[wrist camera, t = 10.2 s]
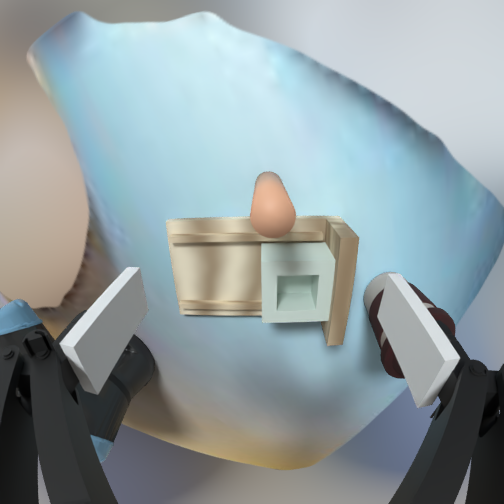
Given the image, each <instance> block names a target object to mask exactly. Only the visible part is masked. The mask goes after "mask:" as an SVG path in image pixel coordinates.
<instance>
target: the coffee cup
mask: <svg viewBox="0 0 504 504" xmlns="http://www.w3.org/2000/svg"><path fill="white" fill-rule="evenodd" d="M388 274H398V273H395V272H386V273H382V274H380V275H378V276H377V277H375V278H374V279H373V280H372V281H371V282H370V283H369V285H368V286H367V288H366V290H365V293H364V304H365V306H366V309H367V311H368V314H369V320H370V323H371V325H372V328H373V331H374V333H375V336H376V339H377V342H378V344H379V347H380V349H381V361H382V364H383V366H384V368H385V370H386V372H387V373H388V374H389V375H390V376H392V377H395V378H403V379H405V376H404V374H403V372H402V369H401V367H400V365H399V362H398V360H397V358H396V356H395V353H394V351H393V349H392V347H391V345H390V343H389V340H388V338H387V336H386V334H385V332H384V330H383V328H382V326H381V324H380V321H379V319H378V317H377V315H378V312H379V308H380V304H381V300H382V296H383V292H384V288H385V284H386V280H387V275H388ZM403 278H404V277H403ZM404 279H405V278H404ZM405 280H406V279H405ZM406 282H407V283H408V284H409V286H410V287H411V288H412V290H413V291H414V292H415V293H416V295H417V296H418V297H419V299H420V300H421V301H422V303H423V304H424V305H425V307H426V308H427V310H428V311H429V312H430V314H431V315H432V317H433V318H434V319H435V321H436V320H440V321H441V322H443V323H444V324H445V325H447V326H448V328H449V329H450V330H451V332H452V333H453V335H454V336H455V324H454V321H453V319H452V318H451V317H450V316H449V315H448V313H447V312H446V311H444V310H443V309H441V308H437V307H436V306H435V305H434V304H433V303H432V302H431V301H430V300H429V299H428V298H427V297H426V296H425V295H424V294H423V293H422V292H421V291H420V290H419V289H418V288H417V287H415V286H414V285H413V284H411V283H409V282H408V281H407V280H406Z"/></svg>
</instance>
